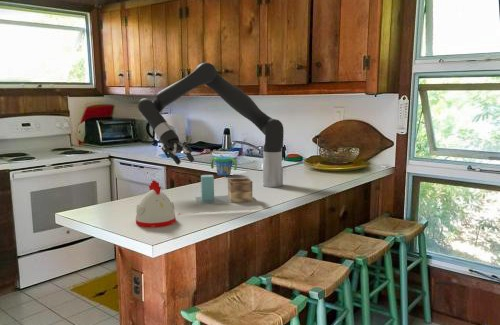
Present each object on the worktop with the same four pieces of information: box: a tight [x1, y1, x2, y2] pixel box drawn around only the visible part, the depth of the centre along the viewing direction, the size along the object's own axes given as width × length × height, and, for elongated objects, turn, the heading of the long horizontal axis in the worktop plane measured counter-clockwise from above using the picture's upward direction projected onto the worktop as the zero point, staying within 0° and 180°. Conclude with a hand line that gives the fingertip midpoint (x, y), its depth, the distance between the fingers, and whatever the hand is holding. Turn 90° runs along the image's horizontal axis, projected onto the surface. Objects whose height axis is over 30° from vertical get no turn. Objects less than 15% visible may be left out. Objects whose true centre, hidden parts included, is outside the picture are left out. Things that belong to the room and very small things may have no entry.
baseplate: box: [194, 195, 256, 206], centre depth 185 cm, size 24×14×1 cm, turn 101°
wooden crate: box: [227, 177, 254, 203], centre depth 184 cm, size 9×9×8 cm
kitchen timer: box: [135, 179, 177, 229], centre depth 154 cm, size 14×14×15 cm
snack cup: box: [210, 155, 238, 177], centre depth 248 cm, size 16×10×10 cm
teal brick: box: [200, 174, 215, 201], centre depth 185 cm, size 5×5×10 cm
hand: (186, 162), depth 190 cm, fingers open, 8 cm apart
